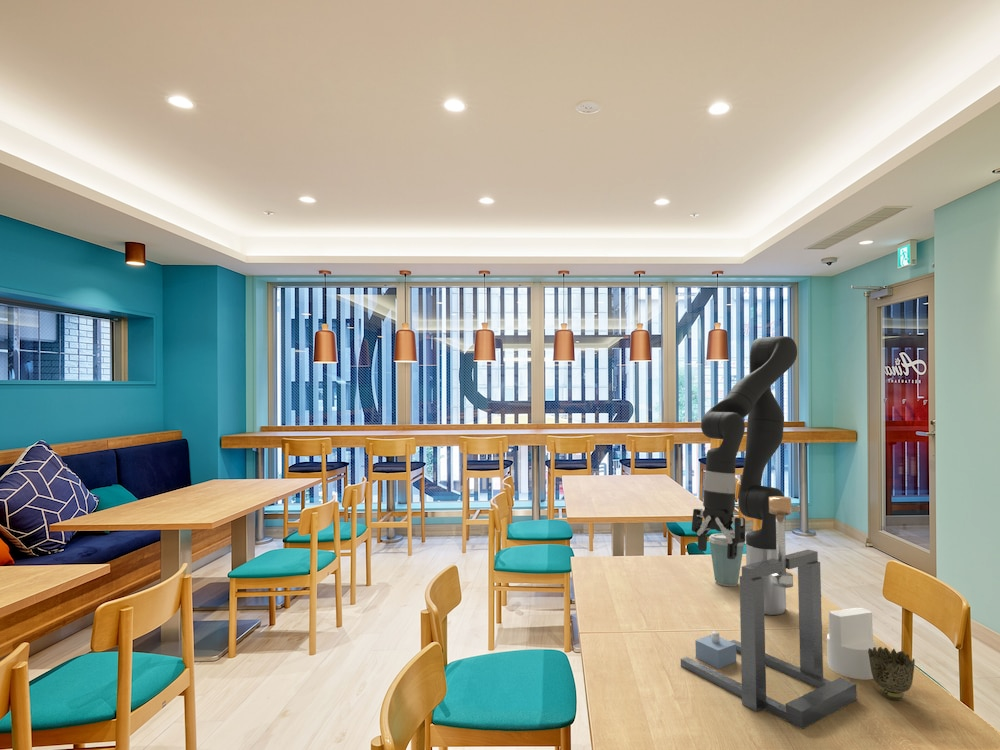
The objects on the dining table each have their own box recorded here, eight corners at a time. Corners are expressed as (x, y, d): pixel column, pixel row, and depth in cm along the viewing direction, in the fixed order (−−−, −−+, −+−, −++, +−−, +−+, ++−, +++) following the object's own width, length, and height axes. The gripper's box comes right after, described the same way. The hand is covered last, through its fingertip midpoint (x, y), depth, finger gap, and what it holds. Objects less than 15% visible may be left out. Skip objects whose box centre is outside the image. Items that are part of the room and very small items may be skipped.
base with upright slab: (853, 682, 115) (851, 622, 115) (817, 662, 123) (816, 606, 124) (887, 676, 117) (886, 617, 117) (850, 656, 126) (848, 602, 126)
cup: (924, 709, 105) (922, 665, 105) (879, 705, 106) (878, 662, 106) (903, 688, 112) (902, 647, 112) (862, 685, 113) (861, 644, 114)
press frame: (739, 644, 132) (737, 532, 133) (862, 696, 109) (858, 561, 110) (674, 668, 121) (672, 546, 122) (795, 732, 98) (791, 581, 99)
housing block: (713, 651, 129) (712, 625, 129) (736, 662, 124) (735, 634, 124) (695, 658, 126) (695, 631, 126) (718, 669, 121) (718, 641, 121)
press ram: (778, 579, 114) (776, 495, 115) (797, 585, 111) (795, 498, 112) (766, 583, 112) (764, 497, 113) (785, 589, 109) (783, 500, 110)
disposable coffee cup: (701, 580, 177) (700, 532, 178) (726, 575, 182) (725, 528, 182) (727, 591, 167) (726, 540, 168) (753, 585, 172) (752, 536, 172)
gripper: (753, 494, 139) (750, 561, 138) (706, 486, 152) (703, 547, 150) (734, 494, 136) (731, 562, 134) (687, 485, 148) (683, 548, 146)
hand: (716, 554), depth 142 cm, fingers open, 8 cm apart
